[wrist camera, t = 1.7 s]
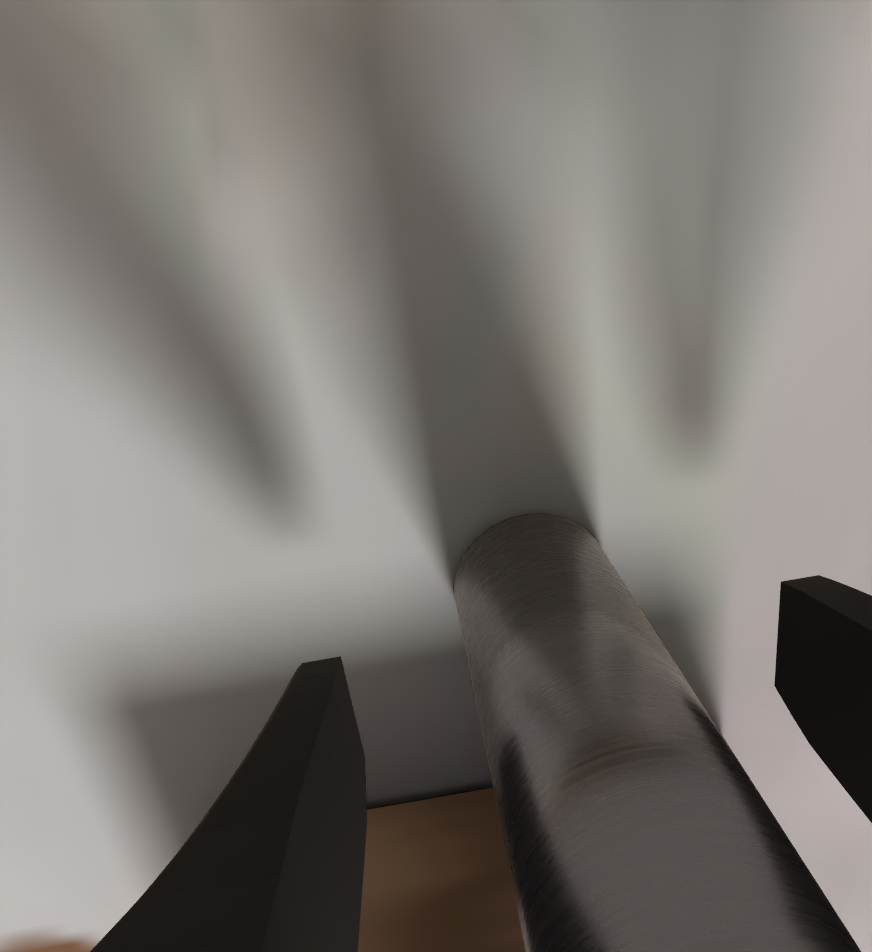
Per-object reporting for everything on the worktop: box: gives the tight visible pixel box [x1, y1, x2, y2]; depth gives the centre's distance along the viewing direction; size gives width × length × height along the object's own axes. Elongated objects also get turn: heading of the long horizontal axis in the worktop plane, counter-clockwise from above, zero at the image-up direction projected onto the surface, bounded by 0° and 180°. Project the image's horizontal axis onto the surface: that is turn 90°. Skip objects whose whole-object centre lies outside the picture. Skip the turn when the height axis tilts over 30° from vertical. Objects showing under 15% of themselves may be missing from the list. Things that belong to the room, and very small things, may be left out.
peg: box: [454, 514, 861, 952], centre depth 9 cm, size 3×3×9 cm
